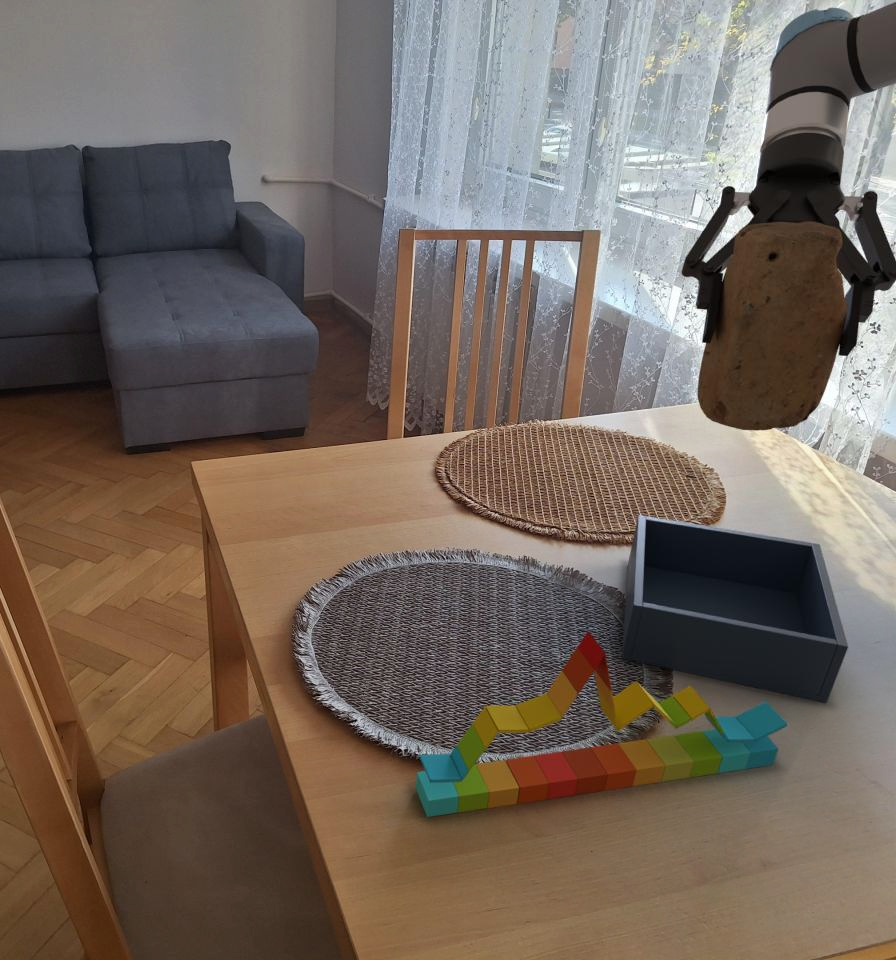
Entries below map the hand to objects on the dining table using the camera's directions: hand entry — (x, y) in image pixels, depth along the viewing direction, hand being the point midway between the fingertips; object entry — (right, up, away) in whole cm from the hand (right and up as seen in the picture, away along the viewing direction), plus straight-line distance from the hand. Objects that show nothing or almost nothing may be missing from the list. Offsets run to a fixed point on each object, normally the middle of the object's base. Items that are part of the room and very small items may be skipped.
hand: (776, 343), depth 84 cm
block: (+1, -7, +7) cm, 10 cm away
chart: (-22, -38, -12) cm, 46 cm away
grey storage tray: (-3, -28, +5) cm, 29 cm away
